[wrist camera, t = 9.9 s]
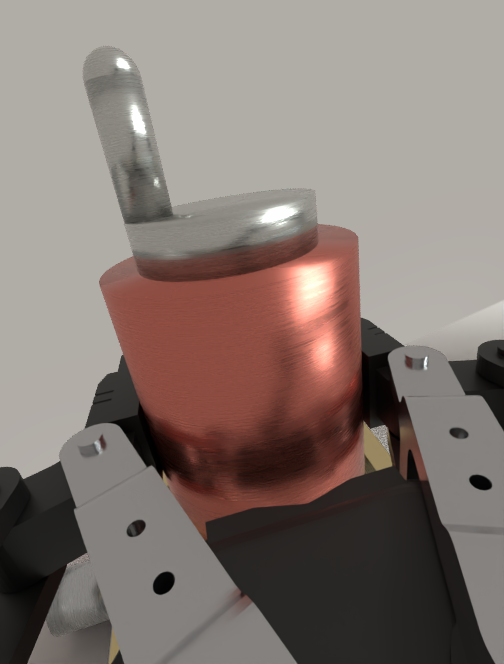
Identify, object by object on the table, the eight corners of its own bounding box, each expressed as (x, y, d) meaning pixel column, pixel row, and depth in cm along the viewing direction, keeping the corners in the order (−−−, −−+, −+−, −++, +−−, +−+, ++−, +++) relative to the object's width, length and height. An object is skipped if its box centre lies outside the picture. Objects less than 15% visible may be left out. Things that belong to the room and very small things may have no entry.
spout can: (327, 479, 16) (290, 59, 9) (403, 623, 11) (432, -67, 4) (198, 517, 15) (65, 90, 9) (215, 691, 10) (-68, -22, 4)
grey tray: (361, 459, 22) (359, 403, 20) (617, 838, 10) (673, 780, 8) (87, 540, 20) (58, 485, 18) (-37, 1158, 8) (-170, 1180, 6)
